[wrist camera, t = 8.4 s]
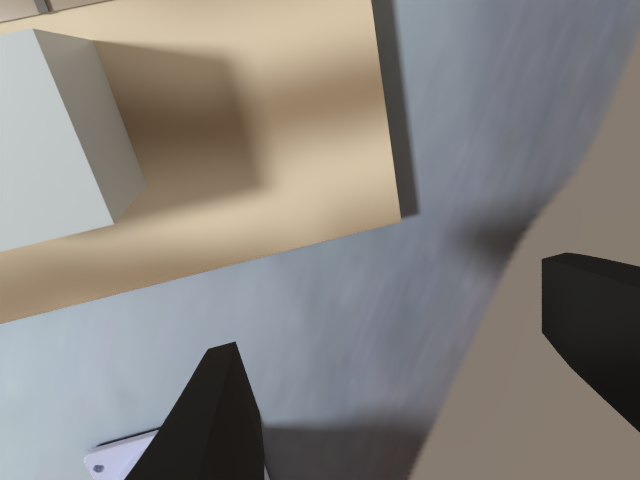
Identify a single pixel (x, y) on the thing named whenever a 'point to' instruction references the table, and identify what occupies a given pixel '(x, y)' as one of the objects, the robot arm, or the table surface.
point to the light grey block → (59, 141)
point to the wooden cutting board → (218, 139)
